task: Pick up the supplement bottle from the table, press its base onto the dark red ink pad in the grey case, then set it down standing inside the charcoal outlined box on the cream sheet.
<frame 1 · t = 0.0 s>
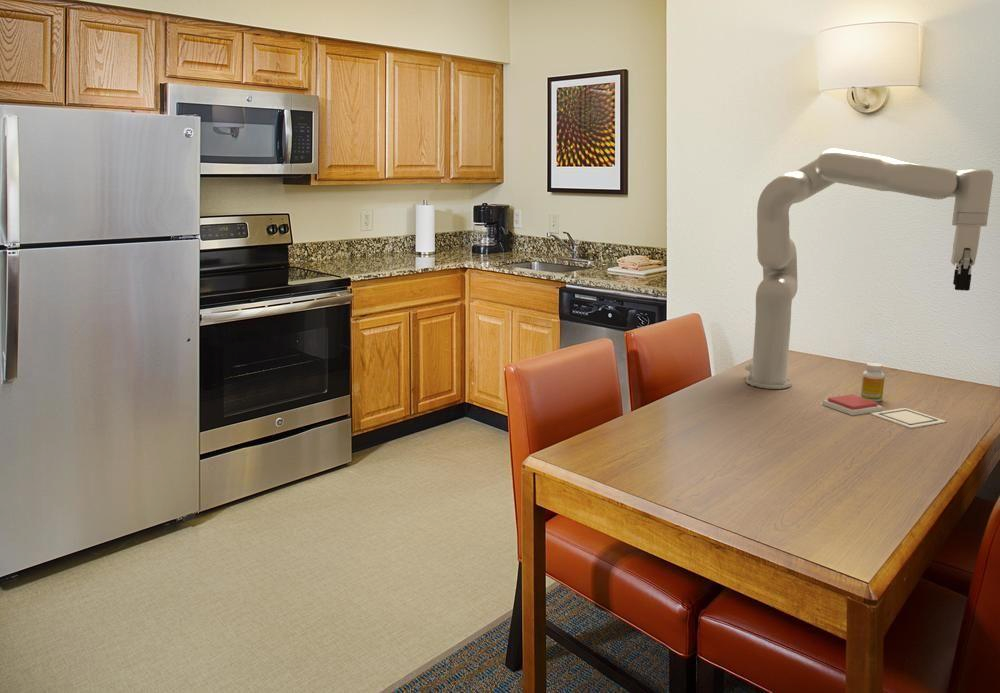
hand: (961, 287, 197), 31 cm above the table, tool pointing down, fingers open, 9 cm apart
marked sheet: (907, 418, 193), on the table
supplement bottle: (870, 399, 209), on the table
ink pad: (851, 407, 202), on the table
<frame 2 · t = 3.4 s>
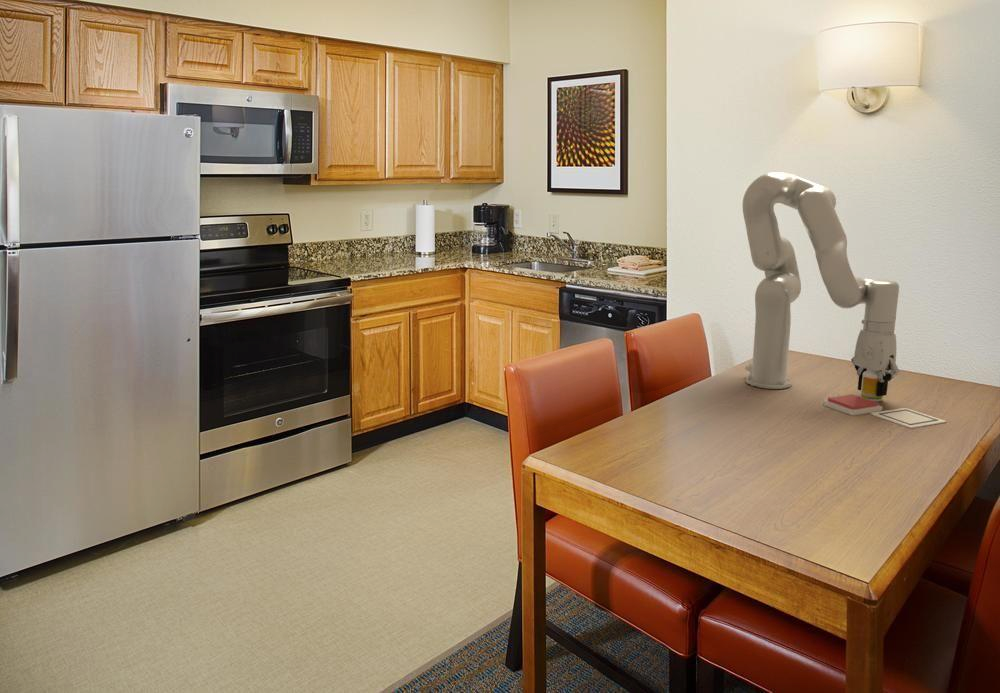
hand: (871, 391, 209), 2 cm above the table, tool pointing down, fingers closed on supplement bottle, 5 cm apart
supplement bottle: (871, 399, 209), on the table, touching gripper
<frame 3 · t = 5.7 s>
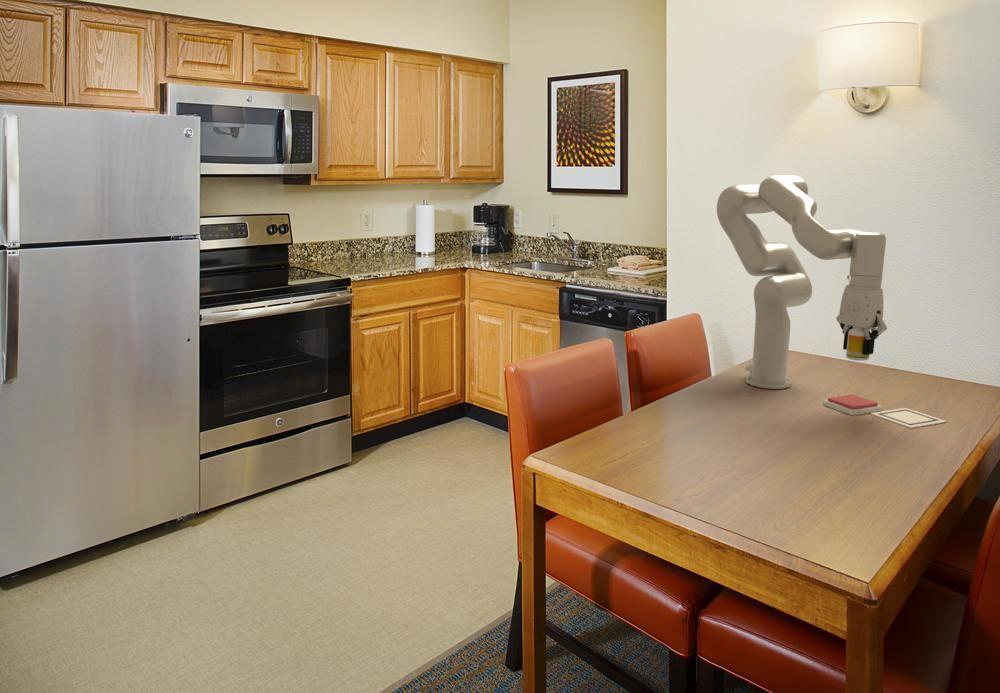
hand: (857, 350, 199), 15 cm above the table, tool pointing down, fingers closed on supplement bottle, 5 cm apart
supplement bottle: (857, 359, 199), point 13 cm above the table, touching gripper
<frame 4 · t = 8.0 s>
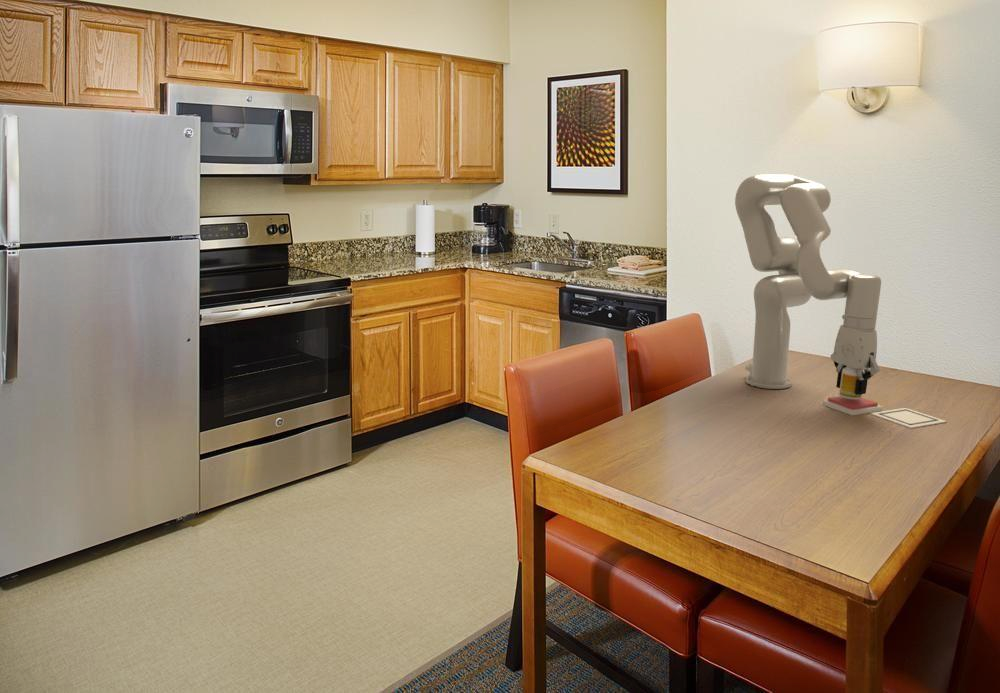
hand: (850, 389, 201), 5 cm above the table, tool pointing down, fingers closed on supplement bottle, 5 cm apart
supplement bottle: (850, 397, 202), point 3 cm above the table, touching gripper
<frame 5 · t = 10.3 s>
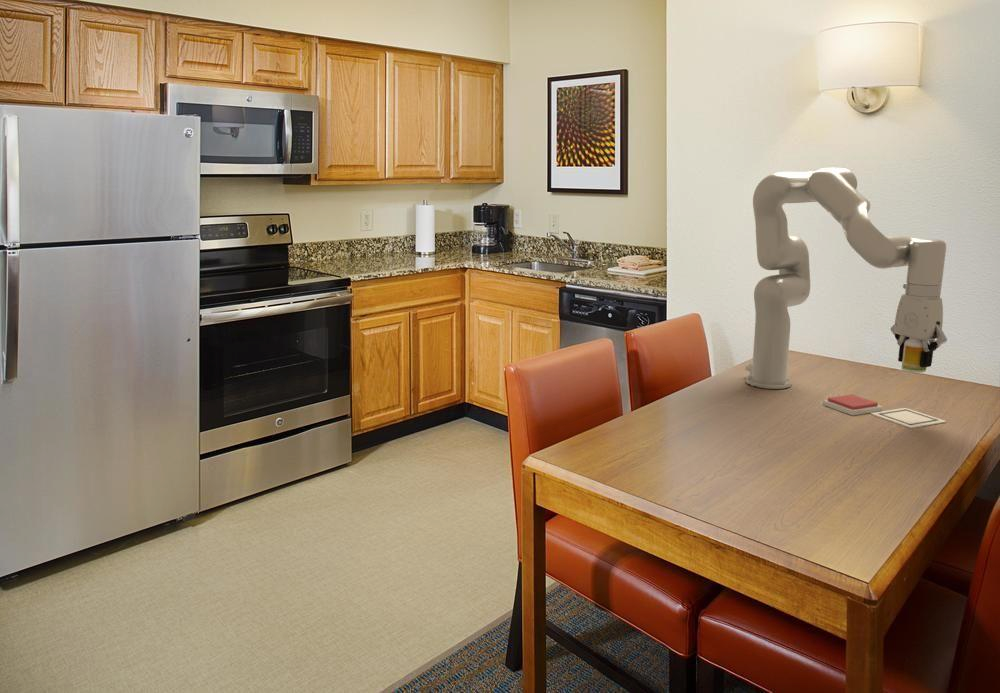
hand: (914, 363, 190), 14 cm above the table, tool pointing down, fingers closed on supplement bottle, 5 cm apart
supplement bottle: (913, 371, 190), point 12 cm above the table, touching gripper
when the fingers open (3 cm above the table, at t = 12.6 s): supplement bottle stays where it is, resting on marked sheet.
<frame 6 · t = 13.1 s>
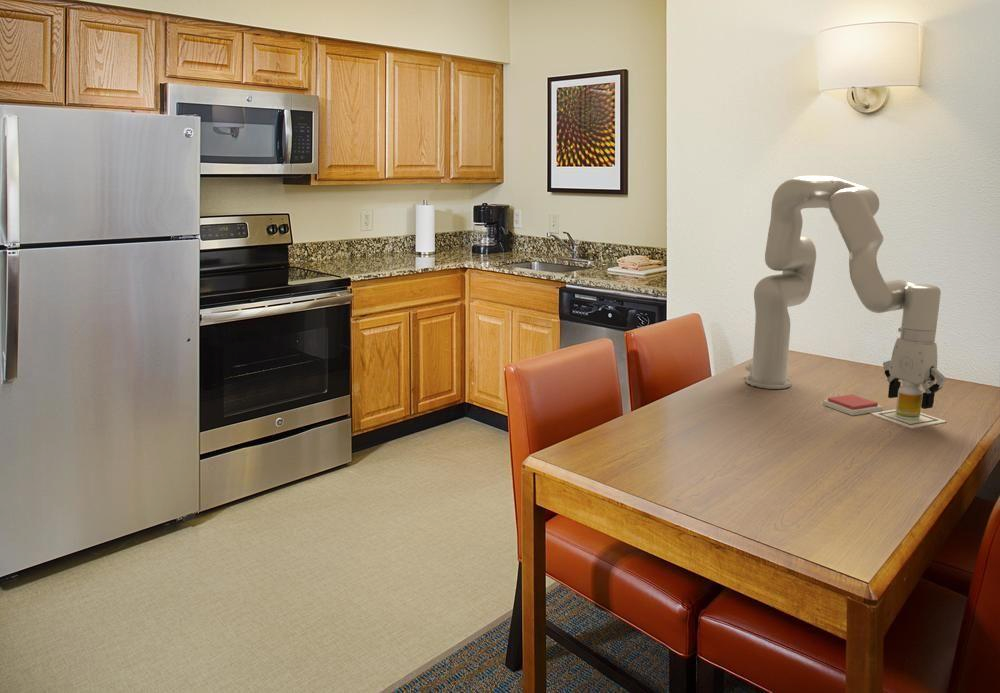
hand: (909, 402, 192), 4 cm above the table, tool pointing down, fingers open, 9 cm apart
supplement bottle: (907, 417, 193), resting on marked sheet
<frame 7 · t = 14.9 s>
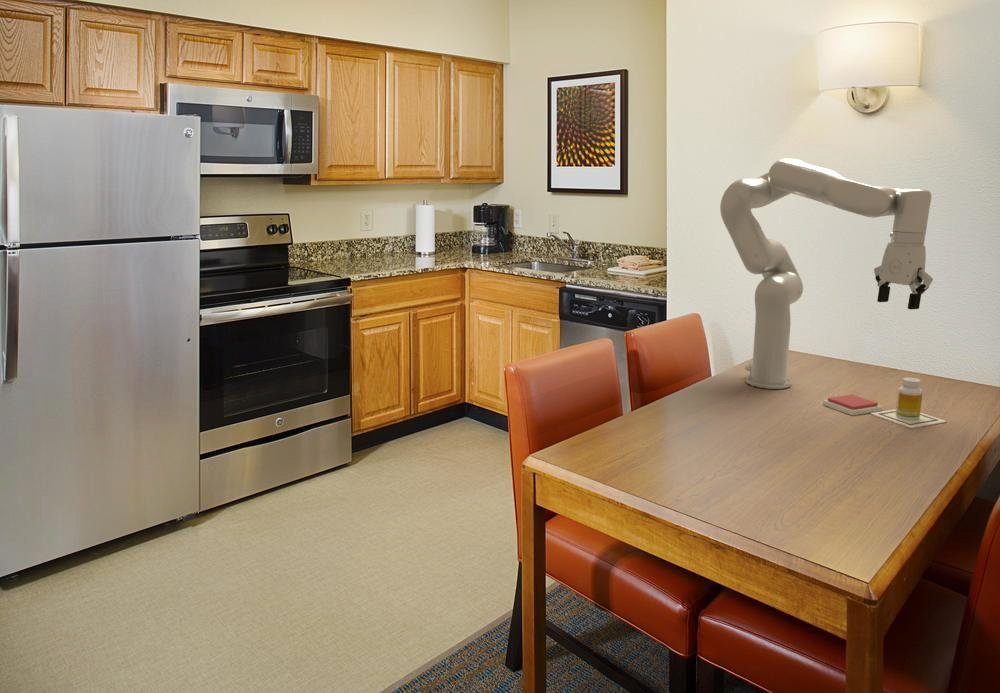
hand: (897, 305, 199), 26 cm above the table, tool pointing down, fingers open, 9 cm apart
nothing on the table moved.
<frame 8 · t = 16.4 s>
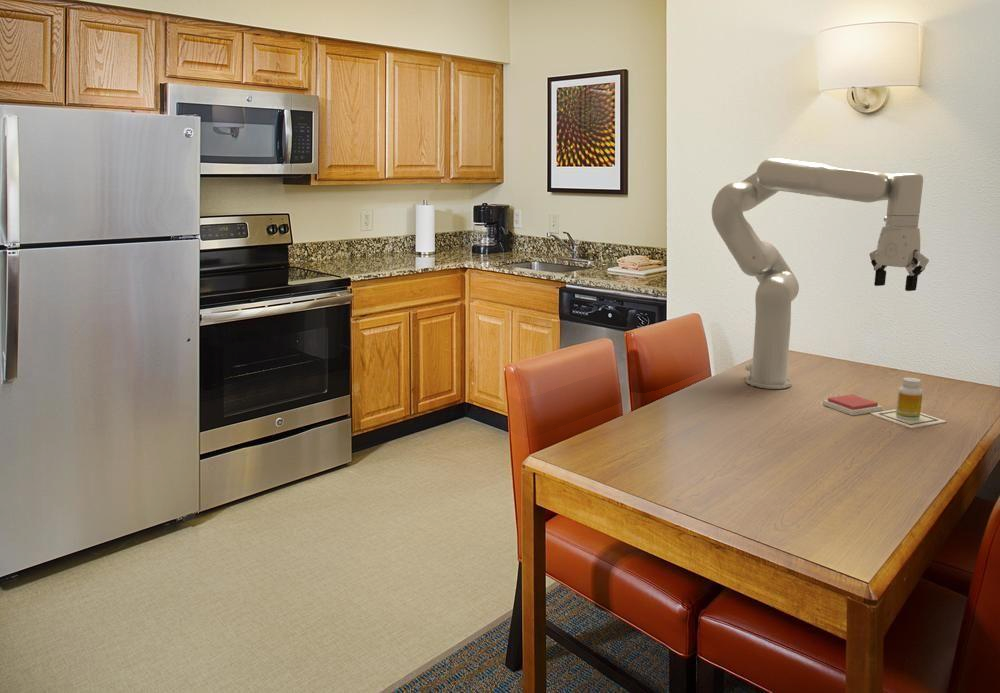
hand: (894, 288, 203), 30 cm above the table, tool pointing down, fingers open, 9 cm apart
nothing on the table moved.
at the end: supplement bottle 0.2 cm off-centre on the marked sheet, point 0.1 cm above the marked sheet's base; supplement bottle tilted 0°; the gripper is holding nothing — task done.
